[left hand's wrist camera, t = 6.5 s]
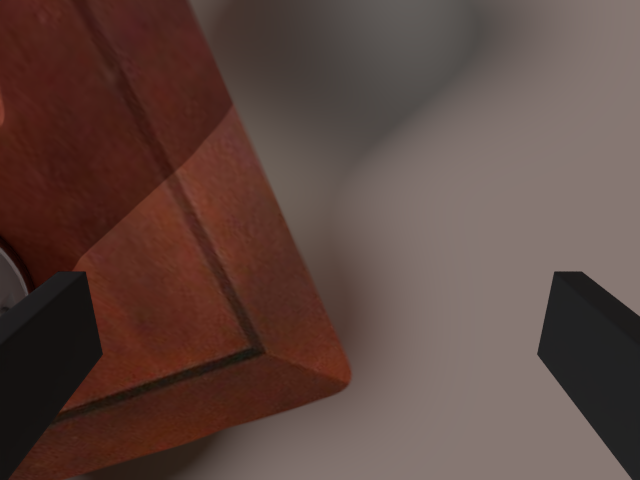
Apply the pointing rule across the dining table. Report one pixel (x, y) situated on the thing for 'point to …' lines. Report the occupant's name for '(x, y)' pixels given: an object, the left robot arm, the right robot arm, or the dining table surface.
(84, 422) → the dining table surface
